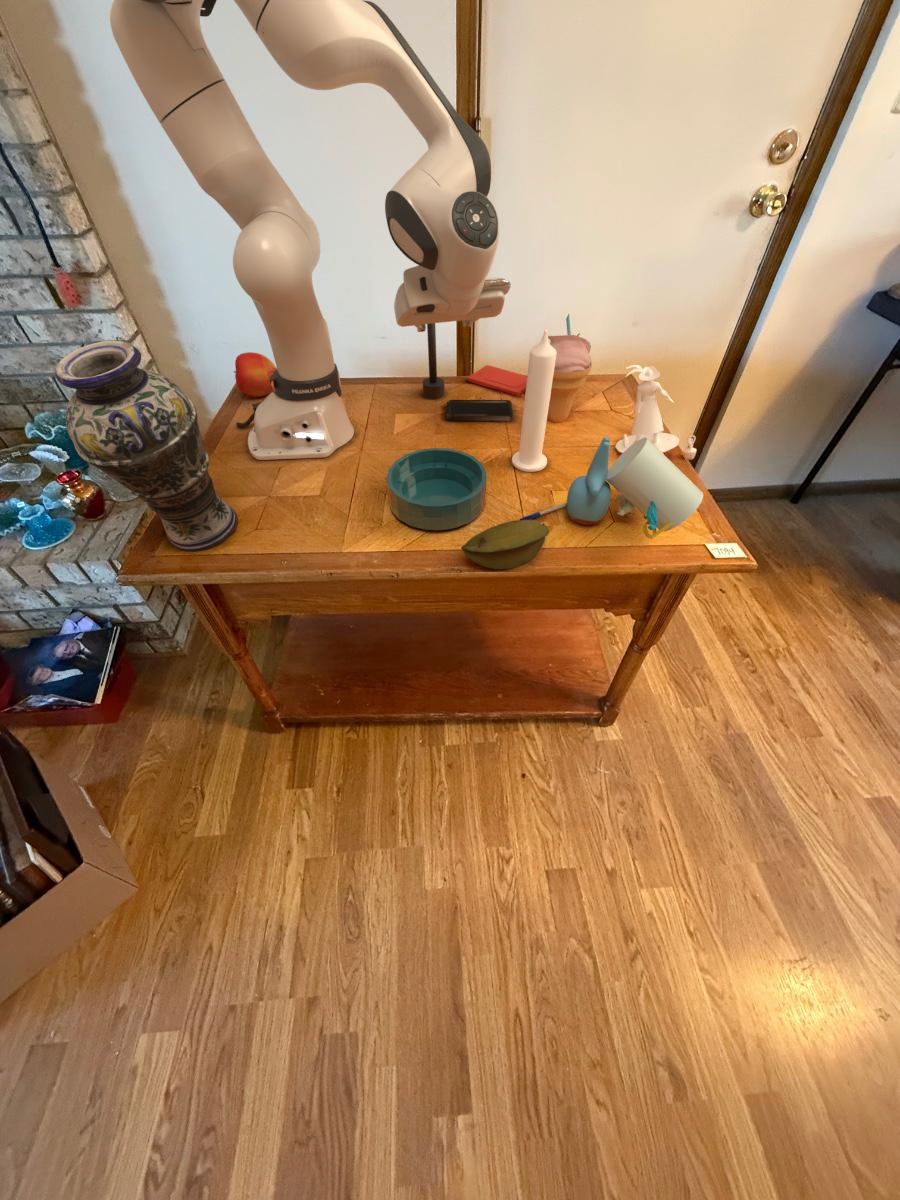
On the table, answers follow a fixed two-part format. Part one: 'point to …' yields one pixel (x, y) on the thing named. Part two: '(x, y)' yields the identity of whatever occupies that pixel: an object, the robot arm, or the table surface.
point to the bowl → (436, 488)
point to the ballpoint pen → (543, 512)
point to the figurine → (651, 416)
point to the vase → (144, 440)
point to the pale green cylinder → (653, 488)
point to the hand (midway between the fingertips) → (443, 325)
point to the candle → (536, 407)
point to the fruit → (507, 544)
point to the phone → (479, 410)
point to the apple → (253, 374)
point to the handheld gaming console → (500, 380)
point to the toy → (591, 489)
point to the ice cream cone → (567, 372)
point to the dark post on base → (432, 369)
